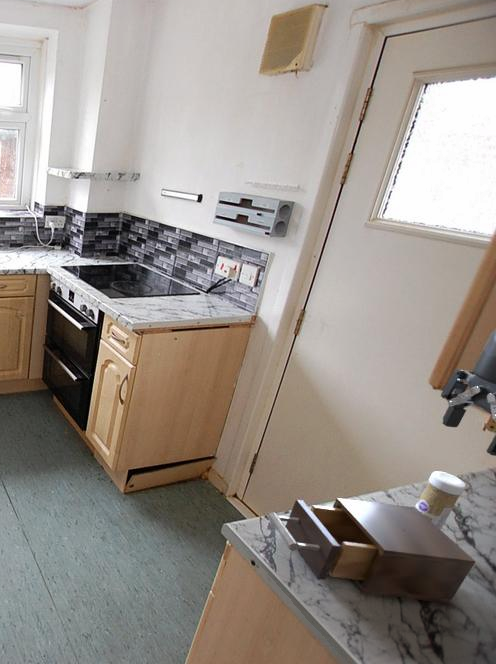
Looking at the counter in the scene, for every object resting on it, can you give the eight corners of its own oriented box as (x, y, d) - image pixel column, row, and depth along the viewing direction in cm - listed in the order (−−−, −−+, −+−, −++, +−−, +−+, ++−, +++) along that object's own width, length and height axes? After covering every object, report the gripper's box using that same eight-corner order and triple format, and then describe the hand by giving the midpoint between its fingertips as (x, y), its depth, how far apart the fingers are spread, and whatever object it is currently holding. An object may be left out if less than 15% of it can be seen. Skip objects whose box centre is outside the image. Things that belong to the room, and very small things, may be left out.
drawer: (286, 575, 75) (301, 541, 72) (255, 527, 84) (267, 495, 82) (396, 589, 74) (415, 555, 71) (352, 539, 84) (367, 507, 81)
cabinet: (362, 592, 74) (384, 550, 71) (319, 536, 85) (336, 497, 82) (449, 603, 73) (475, 561, 70) (394, 546, 84) (415, 507, 81)
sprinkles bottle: (397, 527, 89) (426, 471, 84) (414, 524, 90) (444, 469, 85) (423, 546, 85) (455, 488, 80) (440, 543, 86) (473, 485, 81)
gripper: (454, 336, 81) (415, 415, 87) (539, 372, 68) (487, 462, 73) (498, 341, 81) (456, 420, 86) (592, 378, 67) (536, 468, 73)
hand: (470, 439), depth 80 cm, fingers open, 8 cm apart
